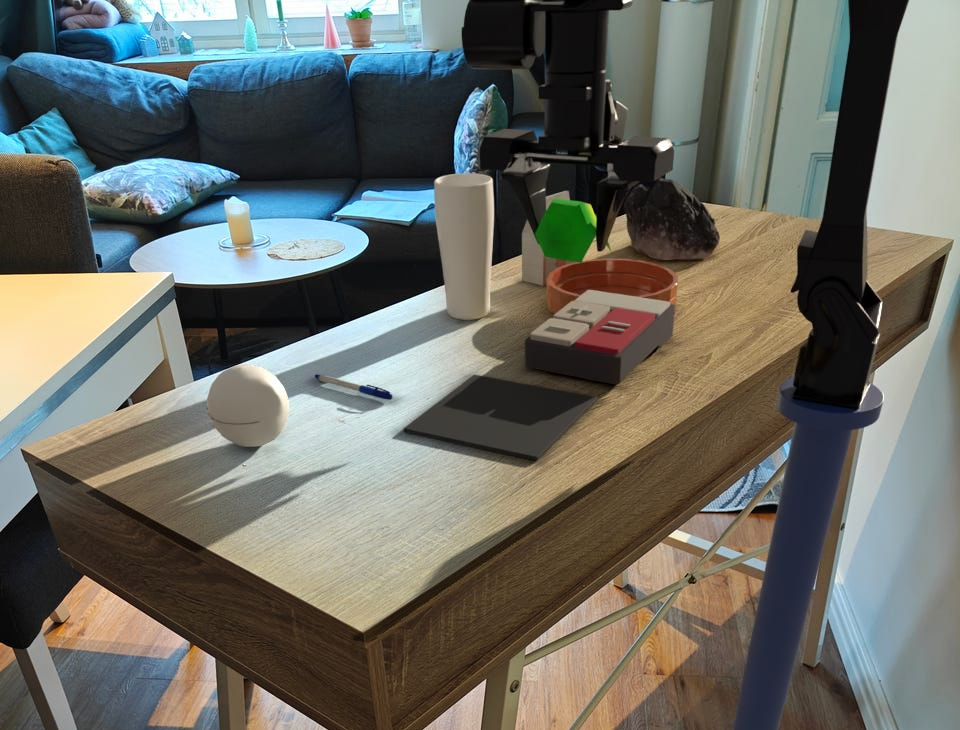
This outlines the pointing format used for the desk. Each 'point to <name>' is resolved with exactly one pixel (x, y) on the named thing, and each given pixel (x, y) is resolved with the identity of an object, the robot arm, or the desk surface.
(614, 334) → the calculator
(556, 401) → the mat
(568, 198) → the white gabled box
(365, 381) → the desk surface
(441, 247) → the drinking glass
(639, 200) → the crystal cluster
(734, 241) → the desk surface
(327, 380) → the ballpoint pen
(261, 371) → the seamed sphere
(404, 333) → the desk surface
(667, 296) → the bowl
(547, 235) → the green polyhedron
